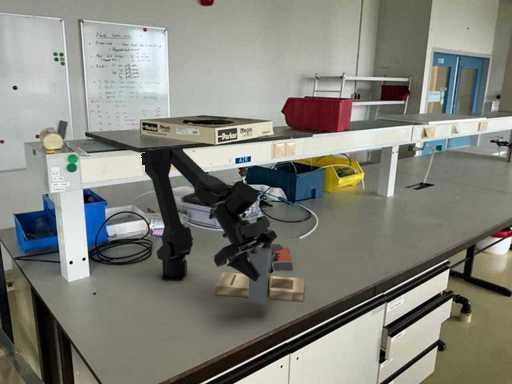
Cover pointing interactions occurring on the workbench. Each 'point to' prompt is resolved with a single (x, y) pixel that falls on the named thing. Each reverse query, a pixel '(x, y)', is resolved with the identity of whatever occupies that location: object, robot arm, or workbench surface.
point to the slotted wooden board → (240, 286)
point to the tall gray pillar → (260, 275)
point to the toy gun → (279, 257)
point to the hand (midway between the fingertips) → (264, 276)
